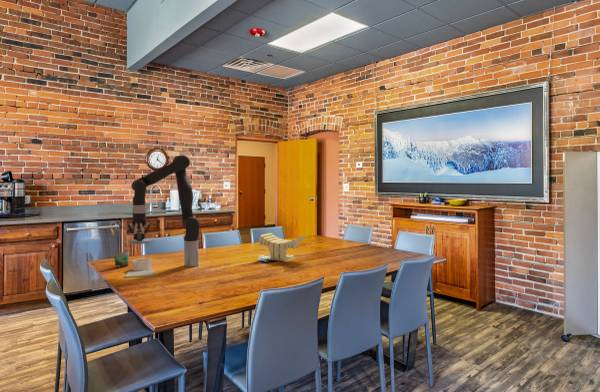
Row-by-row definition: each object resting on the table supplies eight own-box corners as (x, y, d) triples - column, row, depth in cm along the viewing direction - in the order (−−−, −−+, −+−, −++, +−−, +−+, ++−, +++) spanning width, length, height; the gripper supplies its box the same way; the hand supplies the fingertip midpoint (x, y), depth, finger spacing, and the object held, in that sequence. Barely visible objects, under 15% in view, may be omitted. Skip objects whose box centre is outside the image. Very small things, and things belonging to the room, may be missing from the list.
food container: (122, 268, 241) (121, 253, 241) (113, 268, 243) (113, 253, 242) (134, 264, 253) (133, 250, 253) (126, 264, 255) (125, 249, 254)
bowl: (152, 266, 247) (152, 257, 247) (149, 270, 237) (149, 261, 236) (134, 267, 245) (134, 258, 244) (131, 271, 234) (131, 262, 234)
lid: (151, 240, 237) (151, 231, 236) (148, 243, 225) (148, 233, 224) (131, 240, 234) (130, 231, 233) (126, 244, 222) (126, 234, 221)
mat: (155, 270, 236) (155, 269, 236) (152, 275, 225) (152, 274, 225) (128, 272, 232) (128, 271, 232) (124, 277, 221) (124, 276, 220)
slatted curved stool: (259, 259, 270) (259, 235, 269) (271, 255, 284) (271, 232, 283) (294, 264, 255) (294, 238, 254) (305, 259, 269) (305, 235, 268)
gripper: (152, 211, 233) (152, 238, 234) (128, 211, 230) (128, 239, 231) (150, 212, 226) (150, 240, 227) (125, 213, 223) (125, 241, 224)
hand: (139, 239), depth 229 cm, fingers closed on lid, 3 cm apart
